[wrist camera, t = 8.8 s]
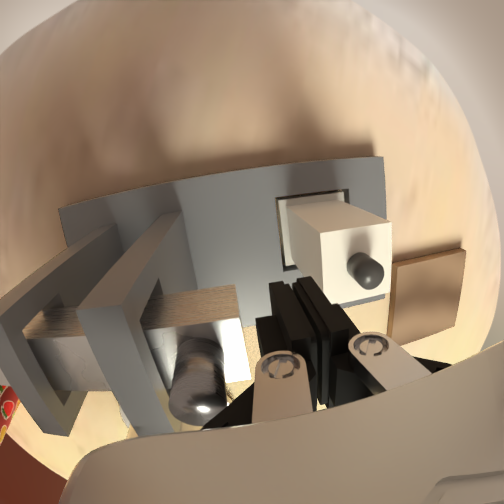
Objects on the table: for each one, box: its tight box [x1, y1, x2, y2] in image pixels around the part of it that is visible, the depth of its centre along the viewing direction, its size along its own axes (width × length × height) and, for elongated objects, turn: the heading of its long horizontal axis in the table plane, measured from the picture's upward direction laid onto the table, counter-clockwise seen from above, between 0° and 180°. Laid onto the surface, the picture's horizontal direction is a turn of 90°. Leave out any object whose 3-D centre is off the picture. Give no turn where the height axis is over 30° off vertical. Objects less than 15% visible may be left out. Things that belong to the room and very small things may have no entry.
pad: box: [387, 248, 466, 346], centre depth 26 cm, size 9×9×1 cm
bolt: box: [0, 284, 251, 426], centre depth 9 cm, size 3×22×5 cm, turn 98°
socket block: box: [0, 156, 387, 437], centre depth 16 cm, size 12×25×15 cm, turn 98°
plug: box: [276, 190, 392, 304], centre depth 18 cm, size 5×5×10 cm
